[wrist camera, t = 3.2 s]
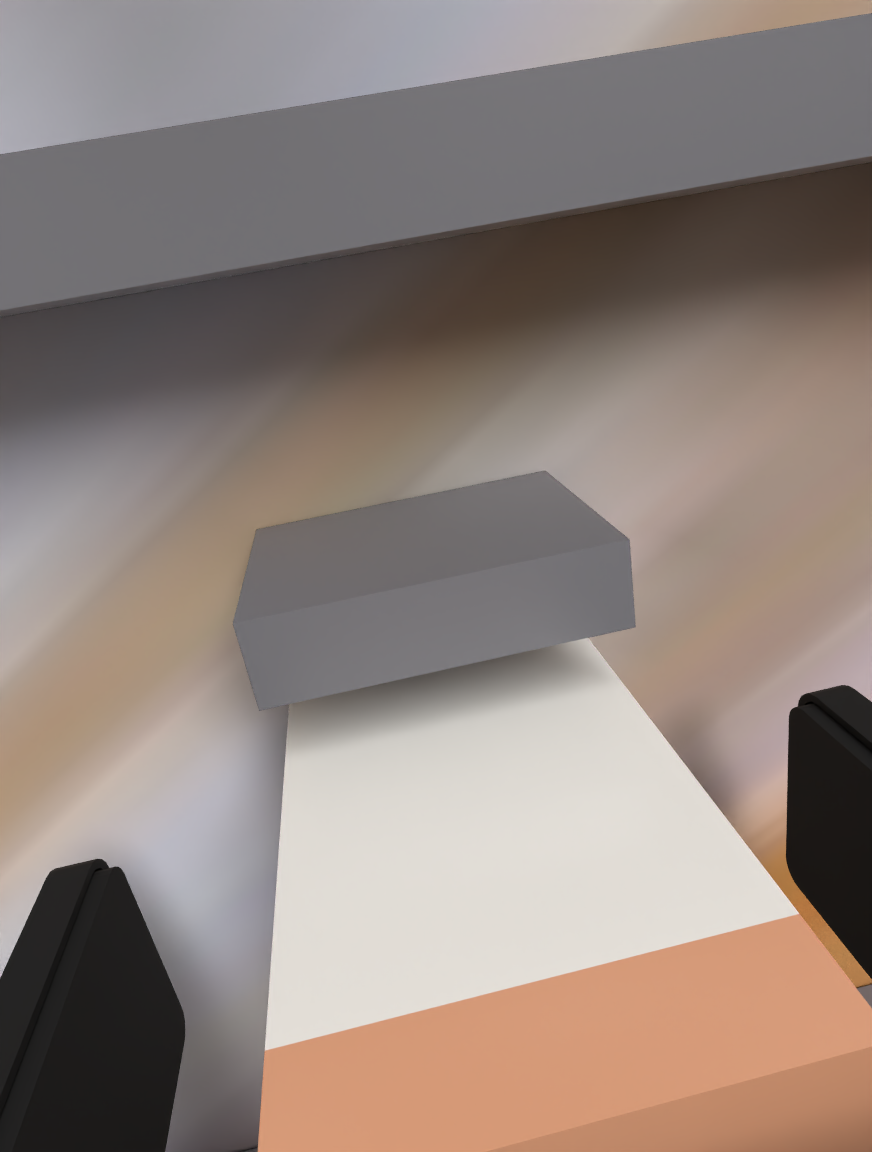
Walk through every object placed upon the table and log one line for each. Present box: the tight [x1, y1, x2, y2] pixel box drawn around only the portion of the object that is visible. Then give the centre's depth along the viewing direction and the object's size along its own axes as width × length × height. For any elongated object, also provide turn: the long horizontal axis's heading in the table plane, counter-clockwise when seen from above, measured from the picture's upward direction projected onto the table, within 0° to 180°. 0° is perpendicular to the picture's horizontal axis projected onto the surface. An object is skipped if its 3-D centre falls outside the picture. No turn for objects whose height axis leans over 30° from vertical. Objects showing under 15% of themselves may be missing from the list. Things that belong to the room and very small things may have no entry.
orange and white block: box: [258, 638, 872, 1152], centre depth 9 cm, size 4×5×7 cm
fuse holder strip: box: [0, 13, 872, 1152], centre depth 9 cm, size 29×18×5 cm, turn 100°
